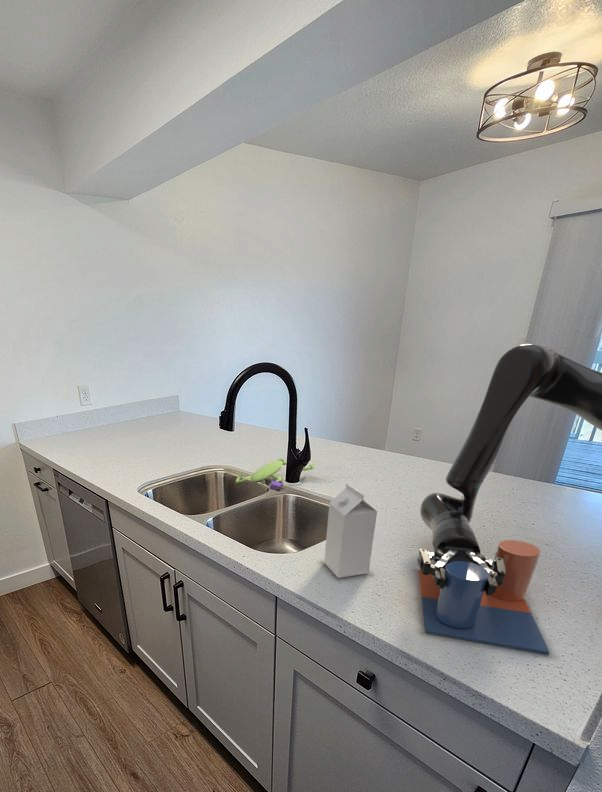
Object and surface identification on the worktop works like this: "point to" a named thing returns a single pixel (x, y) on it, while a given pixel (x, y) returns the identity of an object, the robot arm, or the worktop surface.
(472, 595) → the blue crock
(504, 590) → the terracotta crock
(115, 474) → the worktop surface
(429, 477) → the worktop surface
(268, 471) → the figurine
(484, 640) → the sorting mat
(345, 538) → the milk carton
